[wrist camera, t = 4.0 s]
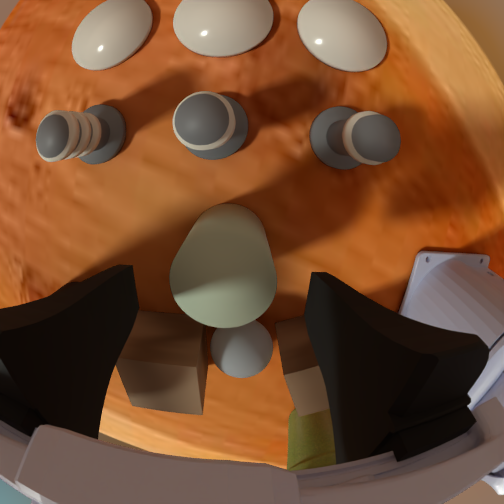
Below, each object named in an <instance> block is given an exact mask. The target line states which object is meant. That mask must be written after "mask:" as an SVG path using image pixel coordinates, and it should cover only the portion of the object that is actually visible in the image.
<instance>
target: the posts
mask: <svg viewBox="0 0 504 504" xmlns="http://www.w3.org/2000/svg"><path fill="white" fill-rule="evenodd" d="M173 129H174V132H175V134H176V136H177V138H178V139H179V140H180V142H181V143H183V144H184V145H185V146H186V148H187V149H188V150H189V151H190V152H191V153H193V154H194V155H196V156H198V157H200V158H203V159H209V160H217V159H222V158H225V157H227V156H230V155H231V154H233V153H234V152H236V151H237V150H238V149H239V148H240V147H241V145H242V144H243V142H244V141H245V138H246V136H247V132H248V119H247V116H246V113H245V111H244V109H243V108H242V107H241V105H240V104H239V103H238V102H236V101H235V100H234V99H232V98H230V97H227V96H224V95H219V94H217V93H214V92H210V91H201V92H196V93H193V94H191V95H189V96H187V97H186V98H185V99H183V100H182V101H181V102H180V104H179V105H178V106H177V108H176V110H175V112H174V116H173ZM125 137H126V124H125V120H124V118H123V116H122V114H121V113H120V112H119V111H118V110H117V109H116V108H114V107H112V106H107V105H95V106H92V107H90V108H88V109H87V110H85V111H84V112H73V111H61V110H56V111H52V112H50V113H49V114H47V115H46V116H45V117H44V118H43V120H42V121H41V123H40V125H39V127H38V130H37V135H36V146H37V150H38V153H39V155H40V156H41V157H42V158H43V159H44V160H46V161H48V162H54V161H59V160H63V159H70V158H75V157H79V158H80V159H81V160H82V161H84V162H86V163H88V164H99V163H104V162H107V161H109V160H111V159H112V158H113V157H115V156H116V155H117V153H118V152H119V151H120V149H121V148H122V146H123V144H124V141H125ZM310 143H311V147H312V149H313V151H314V153H315V154H316V156H317V157H318V158H319V159H320V160H321V161H322V162H323V163H325V164H326V165H328V166H331V167H334V168H337V169H351V168H354V167H357V166H358V165H360V164H361V163H365V164H369V165H378V164H381V163H383V162H387V161H389V160H391V159H393V158H394V157H395V156H396V154H397V153H398V151H399V148H400V144H401V138H400V133H399V130H398V128H397V126H396V124H395V123H394V122H393V121H392V120H391V119H390V118H388V117H386V116H384V115H381V114H379V113H376V112H373V111H365V112H359V113H358V112H356V111H355V110H353V109H350V108H347V107H333V108H329V109H327V110H325V111H323V112H321V113H320V114H319V115H318V116H317V117H316V118H315V119H314V121H313V123H312V125H311V128H310Z"/></svg>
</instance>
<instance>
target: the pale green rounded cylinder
mask: <svg viewBox="0 0 504 504" xmlns="http://www.w3.org/2000/svg"><path fill="white" fill-rule="evenodd" d="M169 281H170V288H171V291H172V294H173V297H174V299H175V301H176V302H177V304H178V305H179V307H180V308H181V309H182V310H183V311H184V312H185V313H186V314H187V315H188V316H190V317H191V318H193V319H194V320H196V321H198V322H200V323H202V324H205V325H208V326H212V327H217V328H232V327H238V326H242V325H245V324H247V323H250V322H252V321H254V320H255V319H257V318H258V317H260V316H261V315H262V314H263V313H264V312H265V311H266V310H267V309H268V307H269V306H270V304H271V303H272V301H273V299H274V296H275V293H276V288H277V276H276V270H275V267H274V263H273V259H272V255H271V252H270V248H269V244H268V240H267V237H266V233H265V230H264V227H263V224H262V222H261V221H260V219H259V218H258V217H257V216H256V215H255V214H254V213H253V212H252V211H251V210H249V209H248V208H246V207H244V206H241V205H237V204H230V203H227V204H219V205H216V206H213V207H211V208H209V209H208V210H206V211H205V212H204V213H202V214H201V216H200V217H199V218H198V219H197V221H196V222H195V224H194V226H193V227H192V229H191V231H190V232H189V234H188V236H187V237H186V239H185V241H184V242H183V244H182V246H181V248H180V249H179V251H178V253H177V254H176V256H175V258H174V260H173V262H172V265H171V269H170V275H169Z"/></svg>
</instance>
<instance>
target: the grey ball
mask: <svg viewBox="0 0 504 504" xmlns="http://www.w3.org/2000/svg"><path fill="white" fill-rule="evenodd" d="M210 351H211V356H212V358H213V361H214V363H215V364H216V365H217V367H218V368H219V369H220V370H221V371H223V372H224V373H226V374H227V375H230V376H233V377H237V378H246V377H251V376H254V375H256V374H258V373H259V372H261V371H262V370H263V369H264V368H265V367H266V366H267V364H268V363H269V361H270V359H271V356H272V352H273V343H272V339H271V336H270V334H269V332H268V331H267V329H266V328H265V327H264V326H263V325H262V324H260V323H259V322H258V321H256V320H254V321H252V322H250V323H247V324H245V325H242V326H238V327H232V328H217V329H216V330H215V332H214V334H213V336H212V339H211V343H210Z"/></svg>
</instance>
